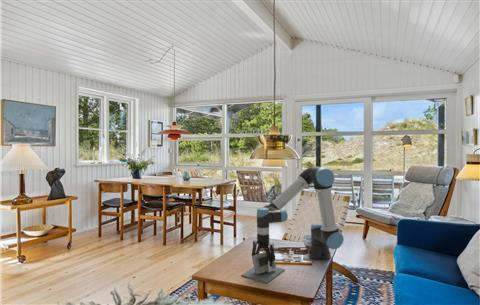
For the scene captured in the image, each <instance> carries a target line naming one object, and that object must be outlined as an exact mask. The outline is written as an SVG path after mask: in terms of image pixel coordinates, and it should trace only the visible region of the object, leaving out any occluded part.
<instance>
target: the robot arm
mask: <svg viewBox="0 0 480 305" xmlns="http://www.w3.org/2000/svg"><path fill="white" fill-rule="evenodd" d="M334 182H335V174H334V172H333V171H332V169H330V168H328V167H326V166H325V167H322V166H317V165H313V166H309V167H308V168H305V170H303V171H302V172H301V173H300V174H299V175H298V176H297V178H296V179H295V180H294V181H293V182H291V184H289V186H288V187H286V189H285V190H283V191H282V192H281V193H280V194H278V196H277V197H276V198H275V199H274V200H272V201H271V202H270V203H269V204H266V205H264V206H262V207H258V208H257V209H256V240H253V241H252V249H251V250H252V251H251V257H252V256H254V255H257V254H259V253H261V250H262V249H263V250H264V252H266V253H267V256H268V259H269V261H268V272H270V271H271V267H272V265H273V261H275V260H276V255H275V248H274V246H275V244H274V243H271V242H270V224H278V223H284V222H286V221H288V216H289V215H288V211H287V210H286V209H283V208H284V207H285V206H286V205H287V204H288V203H289V202H290V201H292V200H293V199H294V198H295V197H296V196H298V194H299V193H301V192H302V190H304V189H305V188H308V187H309V186H310V185H312V184H313V188H314V190H315V191H316V194H317V200H318V208H319V212H320V219H321V220H320V221H321V222H316V223H315V222H314V223H313V224H311V225H310V247H309V249H308V257H309V258H311V259H314V260H318V261H320V260H321V261H323V260H324V261H325V260H328V259H329V260H330V259H331V251H330V249H331V250H337V249H340V248H341V247H342V245H343V243H344V236H343V234H342V233H341V232H340V228H339V225H338V224H336V217H335V212H334V211H335V210H334V206H333V205H334V204H333V198H332V191H331V189H332V188H333V184H334ZM270 252H271V253H270Z"/></svg>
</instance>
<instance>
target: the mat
mask: <svg viewBox="0 0 480 305" xmlns="http://www.w3.org/2000/svg"><path fill="white" fill-rule="evenodd" d="M285 270H286V269H285V268H281V267H277V266H276V268H274V269H272V270H271V271H270V272H268V271H267V272H264V273H260V274H256V273H255V270H254V266H253V267H252V268H250V269H249V270H247V271H245V272H244V273H242V274H241V275H240V276H241V277H243V278H247V279H250V280H254V281H256V280H257V281H256V282H259V283H260V282H261V283H265V284H268V283H270V282H271V281H272V280H274V279H275V278H276V277H278V276H279V275H281V274H282V273H284V272H285Z"/></svg>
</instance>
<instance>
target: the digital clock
mask: <svg viewBox="0 0 480 305" xmlns="http://www.w3.org/2000/svg"><path fill="white" fill-rule="evenodd" d="M270 253H271V252H270ZM251 259H252V264H253V267H254V270H255V273H256V274H260V273H264V272H267V271H268V261H269V259H268V256H267V253H266V251H263V252H259V254H257V255H254V256H252V255H251ZM276 267H277V266H276V261H275V260H274V261H273V265H272V267H271V270H272V269H274V268H276Z"/></svg>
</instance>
